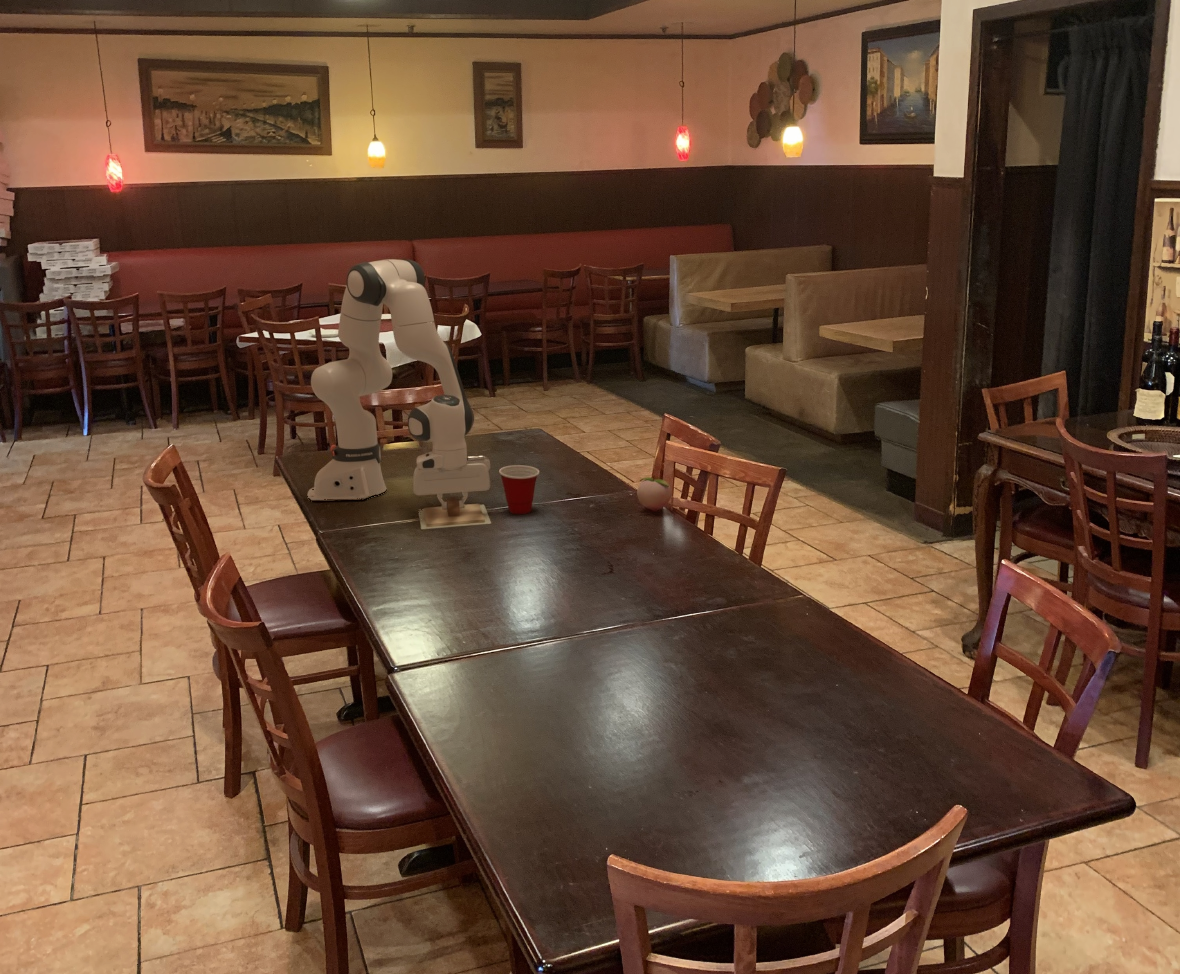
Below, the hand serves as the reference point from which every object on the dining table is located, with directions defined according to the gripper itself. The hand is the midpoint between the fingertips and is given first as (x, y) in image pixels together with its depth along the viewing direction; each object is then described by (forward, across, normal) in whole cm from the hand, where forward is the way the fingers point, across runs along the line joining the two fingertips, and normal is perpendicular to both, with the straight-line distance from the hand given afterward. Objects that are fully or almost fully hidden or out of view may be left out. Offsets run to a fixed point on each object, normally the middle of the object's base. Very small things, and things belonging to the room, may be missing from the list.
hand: (453, 508), depth 294 cm
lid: (+2, 0, 0) cm, 2 cm away
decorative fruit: (+3, -52, +9) cm, 53 cm away
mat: (+3, 0, 0) cm, 3 cm away
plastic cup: (+3, -18, 0) cm, 18 cm away
